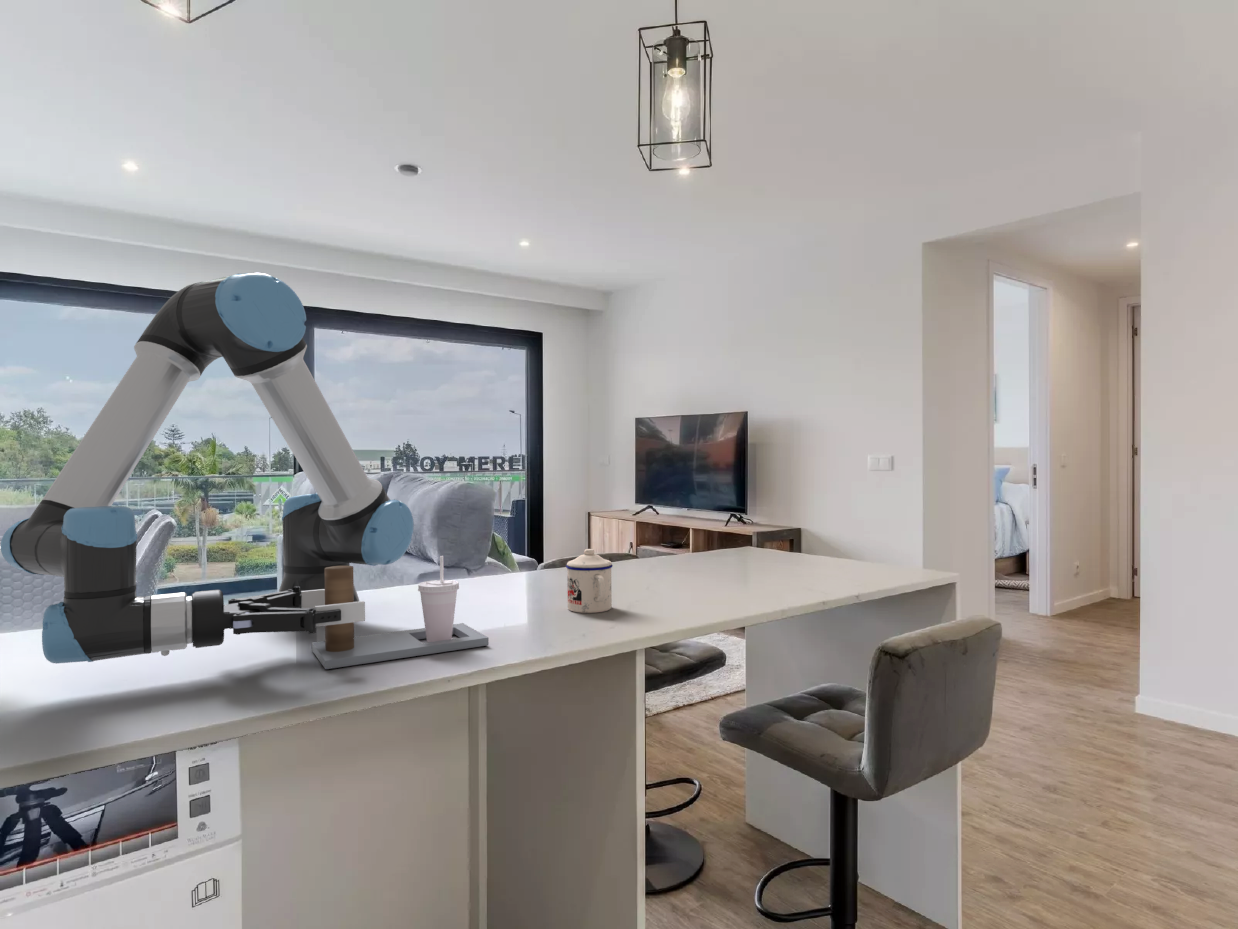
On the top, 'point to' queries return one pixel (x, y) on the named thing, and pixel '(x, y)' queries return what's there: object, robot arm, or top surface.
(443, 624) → the smoothie
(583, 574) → the teacup with lid
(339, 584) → the cup holder tray
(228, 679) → the top surface
